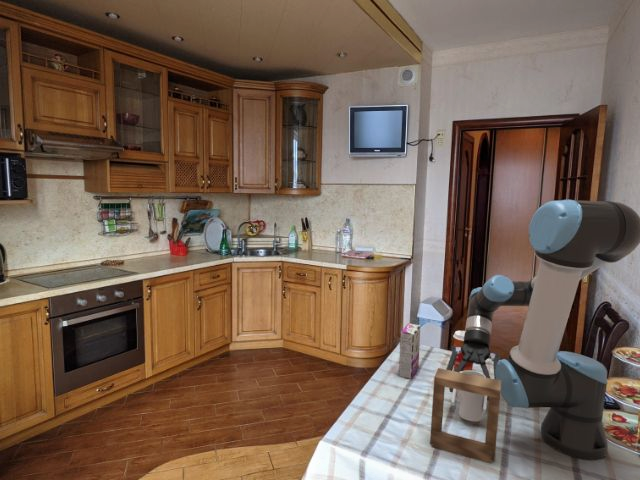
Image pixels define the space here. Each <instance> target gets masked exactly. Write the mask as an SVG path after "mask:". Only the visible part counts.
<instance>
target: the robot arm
mask: <svg viewBox="0 0 640 480" xmlns="http://www.w3.org/2000/svg"><path fill="white" fill-rule="evenodd" d="M528 235H529V236H530V237H529V238H528V239H529V244H530V245H531V247H532V248H533V250H535V252H534V254H535V256H536V258H537V259H538V260H539V264H538V265H539V266H538V269H537V273H536V276H534V277H532V278H531V279H530V280H528V281H527V280H526V281H524V280H523V281H518V280H516V281H515V280H514V281H513V280H511V279H510V278H509V277H506V276H504V275H503V274H495V275H493V276H492V277H490V278H489V279H488V280H487V281H486V282H485V283H484V284H483V286H482V287H481V286H480V287H476V288H474V289H472V290H471V292H470V295H469V297H468V306H467V307H468V310H467V316H466V322H465V329H464V331H465V335H464V342H463V345H462V346H461V347H455V346H454V345H451V355H450V358H449V361H448V364H447V367H446V369H445V370H450V371H453V370H454V363H455V360H456V355H458V354H459V352H462V354H463V355H464V357H463V359H462V361H461V362H460V364H459V365H458V367H457V368H456V370H455V372H460V371H463V369H464V368H465V366H466V365H467V364H468V362H469V363H473V364H476V365H480V368H481V370H482V374H484V375H485V376H486V378H490V379H492V377H491V376H490V372H489V369H488V367H487V363H486V361H487V360H488V359H489V358H490V359H491V361H492V362H493V365H492V366H493V376H494V378H493V379H495V380H500V381H501V390H500V396H501V397H502V399H503V400H504V401H505V403H506V404H507V405H508V406H510V407H513V408H520V409H531V408H532V409H533V408H534V409H538V408H540V409H541V408H549V409H548V411H547V413H546V414H545V417H544V419H543V420H542V423H541V425H540V431H539V432H540V437H541V438H542V440H543V441H544V442H545V443H546V444H547V445H549V446H550V447H551V448H552V449H554V450H556V451H559V452H560V453H563V454H564V455H568V456H571V457H574V458H577V459H578V458H579V459H583V460H591V461H592V460H601V459H603V458H605V457H606V456H607V454H608V446H609V443H608V439H607V435H606V432H605V428H604V424H603V415H604V408H605V407H604V406H605V401H606V400H605V399H606V391H607V386H608V381H607V379H608V370H607V368H606V366H605V365H604V364H603V363H602V362H600V361H598V360H595V359H594V358H592V357H589V356H585V355H583V354H580V353H576V352H572V351H566V350H565V351H563V350H560V348H561V347H560V346H561V344H562V340H563V337H564V333H565V330H566V328H567V323H568V319H569V317H570V314H571V313H570V312H571V310H572V307H573V306H572V305H573V303H574V301H575V297H576V293H577V290H578V287H579V283H580V281H581V280H582V279H584V278H585V277H587V276H588V275H590V274H591V273H593V272H594V271H596V270H598V269H600V268H601V267H602V266H604V265H606V264H608V263H610V264H613V263H617V262H619V261H621V260H622V259H624V258H626V257H627V256H628V255H630V254H631V253H632V252H634V251H635V250H636V248H637V247H638V246H639V245H640V215H639V214H638V213H637V211H635V210H634V209H633V208H632V207H630V206H629V205H626V204H624V203H622V202H617V201H609V200H608V201H607V200H605V201H599V200H598V201H597V200H596V201H595V200H577V199H575V200H574V199H562V200H550V201H548V202H545V203H544V204H543V205H541V206H539V207H538V208H537V210H536V211H535V213H534V214H533V216H532V218H531V220H530V224H529V228H528ZM500 307H528V308H527V312H526V316H525V320H524V322H523V323H524V324H523V327H522V330H521V331H522V332H521V336H520V339H519V343H518V345H515V346H513V347H512V348H510V351H509V355H508V358H507V359H505V358H503V359H501V358H500V357H501V356H500V354H499V353H493V352H491V350H490V347H491V336H492V326H493V318H494V313H495V312H496V311H497V310H499V308H500ZM500 359H501V360H500ZM449 392H450V393H451V394H452V395H451V406H455V405H456V398H457V393H458V390H457V389H453V388H449ZM488 402H489V396H485V395H484V404H483V414H486V413H487V407H488ZM605 455H606V456H605ZM604 456H605V457H604Z"/></svg>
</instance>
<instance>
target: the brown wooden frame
mask: <svg viewBox="0 0 640 480" xmlns="http://www.w3.org/2000/svg"><path fill="white" fill-rule="evenodd" d="M433 378H434V379H433V392H432V405H431V406H432V407H431V419H430V420H431V423H430V434H429V435H430V439H429V444H430V445H431V448H435V449H438V450H442V451H445V452H449V453H452V454H457V455H460V456H463V457H467V458H471V459H475V460H477V461H481V462H485V463H488V464H492V462H495V459H496V458H495V457H496V447H497V437H498V436H497V435H498V424H499V412H500V402H501V401H500V400H501V394H500V390H501V381H500V380H495V379H494V378H491V377H490V378H491V379H490V378H485V377H480V376H475V375H470V374H465V373H460V372H455V371H454V370H452V371H450V370H446V369H445V368H439V367H438V368H437V371H436V373H435V375H434V377H433ZM445 388H453V389H457V391H458V390H462V391H467V392H471V393H476V394H480V395H485V396H489V401H487V415H486V427H485V428H486V429H485V439H484V442H481V441H478V440H475V439H471V438H466V437H462V436H460V435H454V434H451V433H448V432H443V431H442V430H443V420H444V419H443V417H444V401H445V390H446V389H445Z"/></svg>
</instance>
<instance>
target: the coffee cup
mask: <svg viewBox="0 0 640 480" xmlns="http://www.w3.org/2000/svg"><path fill="white" fill-rule="evenodd" d="M464 335H465V330H456V331H455V332H454V334H453V335H452V336H453V346H455V347H461V346H462V345H463V342H464ZM463 357H464V355H463V354H462V352H459V354H458V355H456V360H455V363H454V366H453V371H455V370H456V368H457V367H458V365H459V364H460V362H461V361H462V359H463ZM473 367H474V363H469V362H468V364H467V365H466V366H465V368H464V369H463V371H466V370H471V371H473V369H474V368H473Z"/></svg>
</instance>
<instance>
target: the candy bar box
mask: <svg viewBox="0 0 640 480" xmlns="http://www.w3.org/2000/svg"><path fill="white" fill-rule="evenodd" d="M420 339H421V325H420V324H414V323H407V324H406V325H405V327H403V329H402V330H401V331H400V340H399V360H398V362H399V363H398V377H401V378H403V377H404V378H405V379H410V380H413V378H414V376H415V374H416V373H417V371H418V369H419V365H420V364H419V363H420V345H421V343H420V342H421V340H420Z"/></svg>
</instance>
